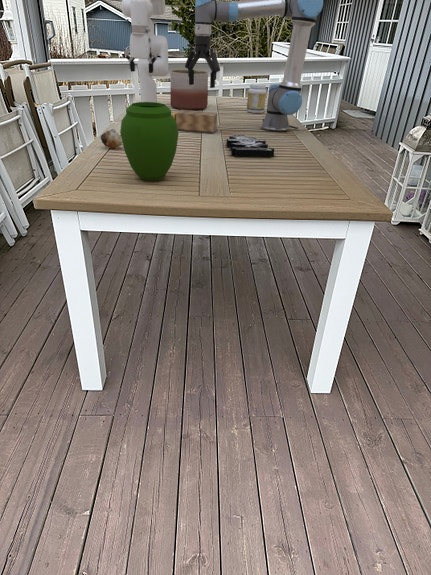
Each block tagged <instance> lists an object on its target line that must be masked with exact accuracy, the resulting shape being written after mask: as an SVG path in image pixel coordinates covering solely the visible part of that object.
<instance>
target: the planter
mask: <svg viewBox="0 0 431 575" xmlns="http://www.w3.org/2000/svg"><path fill="white" fill-rule="evenodd" d="M193 70H194V85H189V77H188V69H171V70H170V106H171V107H172V108H174V109H177V110H191V111H201V110H204V109H206V108H208V103H209V100H208V99H209V98H208V97H209V71H204V70H196V69H193Z"/></svg>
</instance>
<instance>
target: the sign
mask: <svg viewBox="0 0 431 575" xmlns="http://www.w3.org/2000/svg"><path fill="white" fill-rule="evenodd" d="M225 144H226V148H229V151H230V155H231V156H233V157H235V158H272V157H274V156H275V148H274V147H269V144H268V143H267V140H265V139H262V138H260V139H258V138H256V137H250V136H245V134H238V135H237V134H234V135H229V137H228V138H226V143H225Z"/></svg>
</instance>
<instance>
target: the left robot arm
mask: <svg viewBox="0 0 431 575" xmlns="http://www.w3.org/2000/svg"><path fill="white" fill-rule="evenodd" d="M121 12H122V15H123V16H124V17H126V18H130V22H131V33H130V37H129V48H127V49H126V50H124V52H123V53H124V55H125V58H126V59H127V61H128V63H129V70H130V72H131V73H133V72H135V71H136V65H137V71H138V77H139V93H140V94H139V95H140V102H156V103H158V96H157V95H158V94H157V93H158V92H157V90H158V89H157V88H158V87H157V83H156V81H155V80H154V78H153V77H166V76H168V74H169V42H168V39H167V37H166V36H164V35H159V34H158V35H157V34H155V24H154V22H153V20H152V19H151V17H152V16H163V15H164V14H165V12H166V0H121ZM158 56H159V57H158ZM136 59H138V60H137V62H136V63H135V60H136ZM135 64H136V65H135Z"/></svg>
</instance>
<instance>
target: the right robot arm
mask: <svg viewBox="0 0 431 575" xmlns="http://www.w3.org/2000/svg"><path fill="white" fill-rule="evenodd" d="M323 8H324V0H232V1H220V0H195V6H194V34H195V36H194V45H195V46H190V47H189V53H188V56H187V59H186V61H185V64H184V68H185V69H186V70H188V77H189V85H194V70H195V69H194V68H195V66H196V64H197V63H198V61H199V60H200V59H203V60H205V61H206V63H207V65H208V67H209V69H210V73H209V74H210V75H209V76H210V77H209V88H210V89H215V88H216V80H217V74H218V72H220V71H221V67H220V64H219V61H218V57H217V52H216V48H215V47H211V45H212V37H211V35H212V22H215V23H220V22H223V23H224V22H228V23H235V22H236V21H237V20H246V19H256V18H264V17H265V18H266V17H277V16H279V17H280V18H290V21H291V24H292V25H293V26H292V31H291V36H290V42H289V47H288V53H287V58H286V63H285V68H284V75H283V78H282V81H281V82H280V83H278V84H277V83H276V84H275V83H273V84H270V85H269V87H268V93H267V94H268V95H267V104H266V113H265V117H264V118H262V124H261V129H262V130H264V131H267V132H273V133H284V132H288V131H289V130H290V128H291V129H295V130H298V129H299V127H298V126H293V125H289V118H288V116H290V115H291V116H292V115H294V114H296V113H297V112H299V110H300V109H301V107H302V106H303V97H302V94H301V93H302V89H303V87H302V85H301V79H302V75H303V70H304V69H303V68H304V64H305V60H306V56H307V51H308V46H309V41H310V36H311V30H312V28H313V27H314V26H315V25H316V23H317V19H318V18H317V17H318V16H319V15H320V13H321V12H322V10H323Z"/></svg>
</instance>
